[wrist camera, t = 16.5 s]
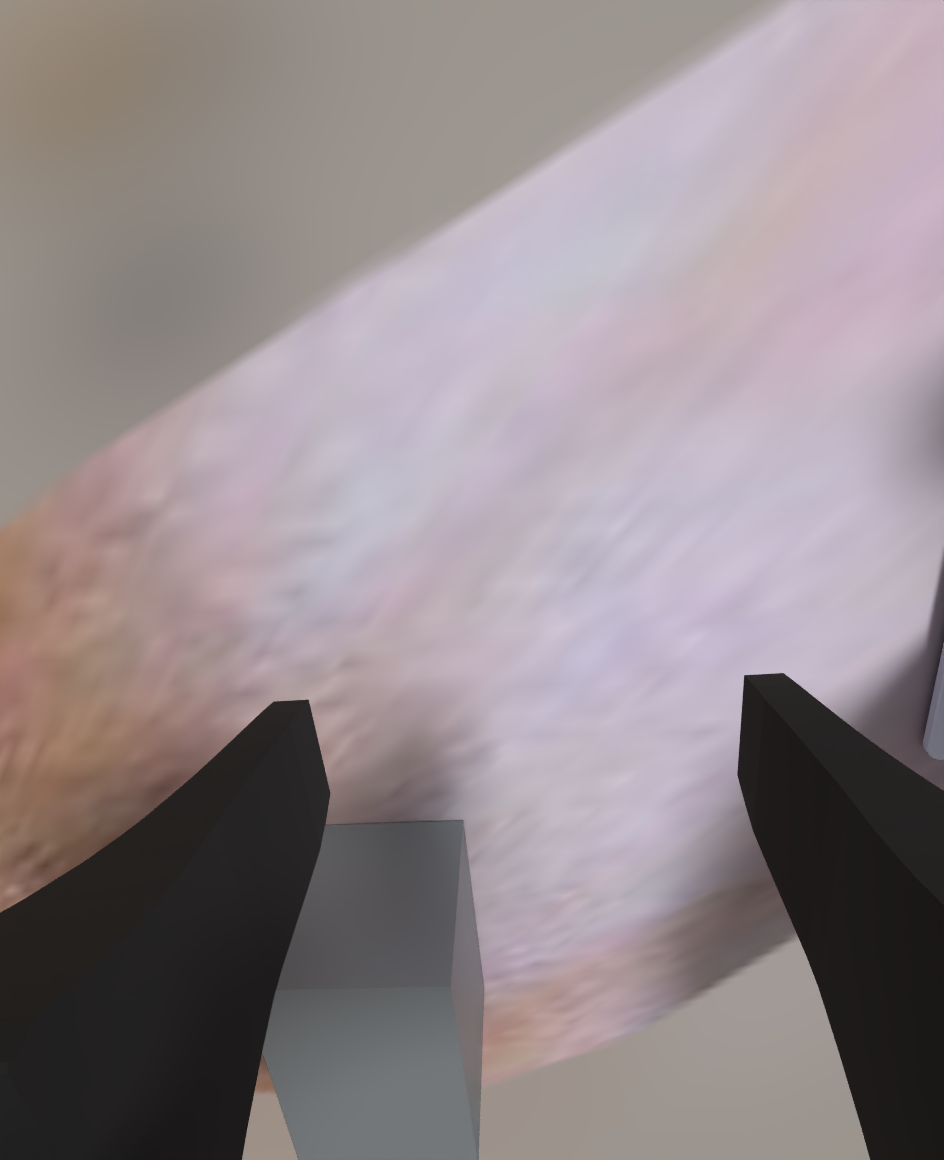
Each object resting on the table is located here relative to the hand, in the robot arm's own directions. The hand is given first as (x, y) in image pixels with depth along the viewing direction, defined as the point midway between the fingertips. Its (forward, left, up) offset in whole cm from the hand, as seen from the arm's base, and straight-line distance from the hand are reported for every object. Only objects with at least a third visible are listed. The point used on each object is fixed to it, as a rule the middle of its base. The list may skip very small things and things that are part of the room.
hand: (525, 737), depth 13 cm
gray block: (+6, +16, -10) cm, 20 cm away
